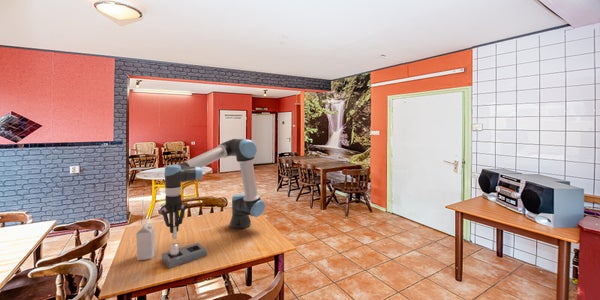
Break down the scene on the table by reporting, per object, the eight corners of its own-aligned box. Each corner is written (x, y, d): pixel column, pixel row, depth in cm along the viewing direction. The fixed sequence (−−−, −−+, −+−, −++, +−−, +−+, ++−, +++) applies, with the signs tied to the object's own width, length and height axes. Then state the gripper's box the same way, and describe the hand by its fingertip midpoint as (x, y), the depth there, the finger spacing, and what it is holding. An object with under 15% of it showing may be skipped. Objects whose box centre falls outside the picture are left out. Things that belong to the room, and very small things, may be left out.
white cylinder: (177, 258, 145) (177, 242, 144) (180, 261, 142) (180, 244, 141) (169, 260, 142) (168, 244, 141) (172, 263, 139) (171, 247, 138)
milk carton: (137, 260, 142) (135, 226, 140) (141, 254, 148) (139, 221, 147) (152, 259, 144) (150, 225, 142) (155, 253, 150) (154, 220, 149)
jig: (198, 248, 157) (197, 242, 157) (207, 255, 148) (206, 249, 148) (161, 259, 143) (161, 253, 143) (169, 268, 134) (169, 261, 134)
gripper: (183, 191, 146) (184, 232, 148) (157, 195, 137) (158, 239, 139) (188, 194, 141) (189, 236, 143) (162, 198, 132) (163, 244, 134)
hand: (174, 238), depth 141 cm, fingers closed
